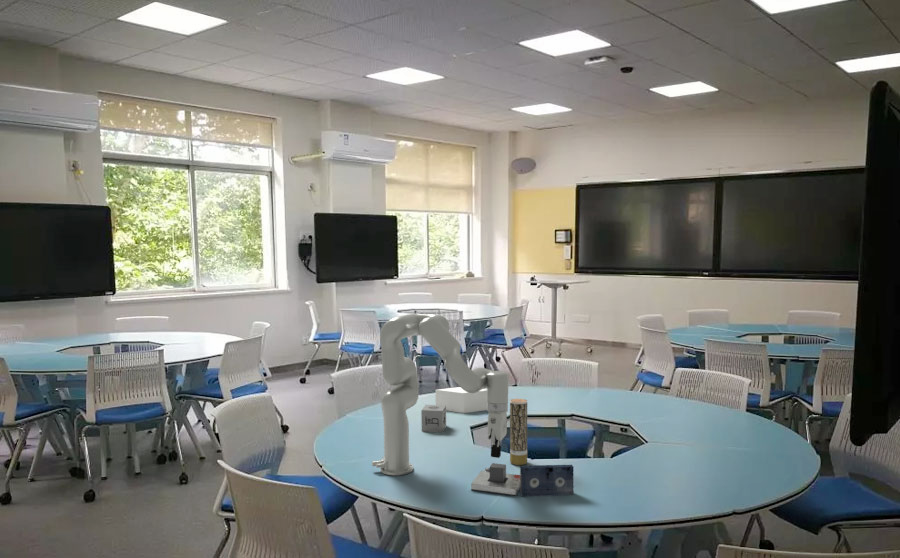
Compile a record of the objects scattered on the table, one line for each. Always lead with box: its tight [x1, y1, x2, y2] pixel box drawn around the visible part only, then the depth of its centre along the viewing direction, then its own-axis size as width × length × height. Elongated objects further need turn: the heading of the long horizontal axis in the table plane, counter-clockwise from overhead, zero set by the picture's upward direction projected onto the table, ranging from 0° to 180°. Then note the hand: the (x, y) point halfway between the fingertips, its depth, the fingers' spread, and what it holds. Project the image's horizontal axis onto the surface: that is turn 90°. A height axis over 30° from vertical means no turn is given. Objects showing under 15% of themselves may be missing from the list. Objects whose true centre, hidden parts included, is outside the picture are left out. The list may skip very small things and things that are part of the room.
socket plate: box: [470, 470, 520, 497], centre depth 213 cm, size 16×13×3 cm
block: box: [435, 386, 487, 414], centre depth 317 cm, size 15×30×11 cm, turn 88°
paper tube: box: [509, 398, 528, 466], centre depth 236 cm, size 7×7×25 cm
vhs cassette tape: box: [519, 464, 575, 497], centre depth 206 cm, size 18×3×10 cm, turn 92°
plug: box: [484, 462, 507, 484], centre depth 214 cm, size 7×4×7 cm, turn 71°
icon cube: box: [420, 404, 447, 433], centre depth 283 cm, size 10×10×10 cm
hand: (495, 456), depth 213 cm, fingers closed
